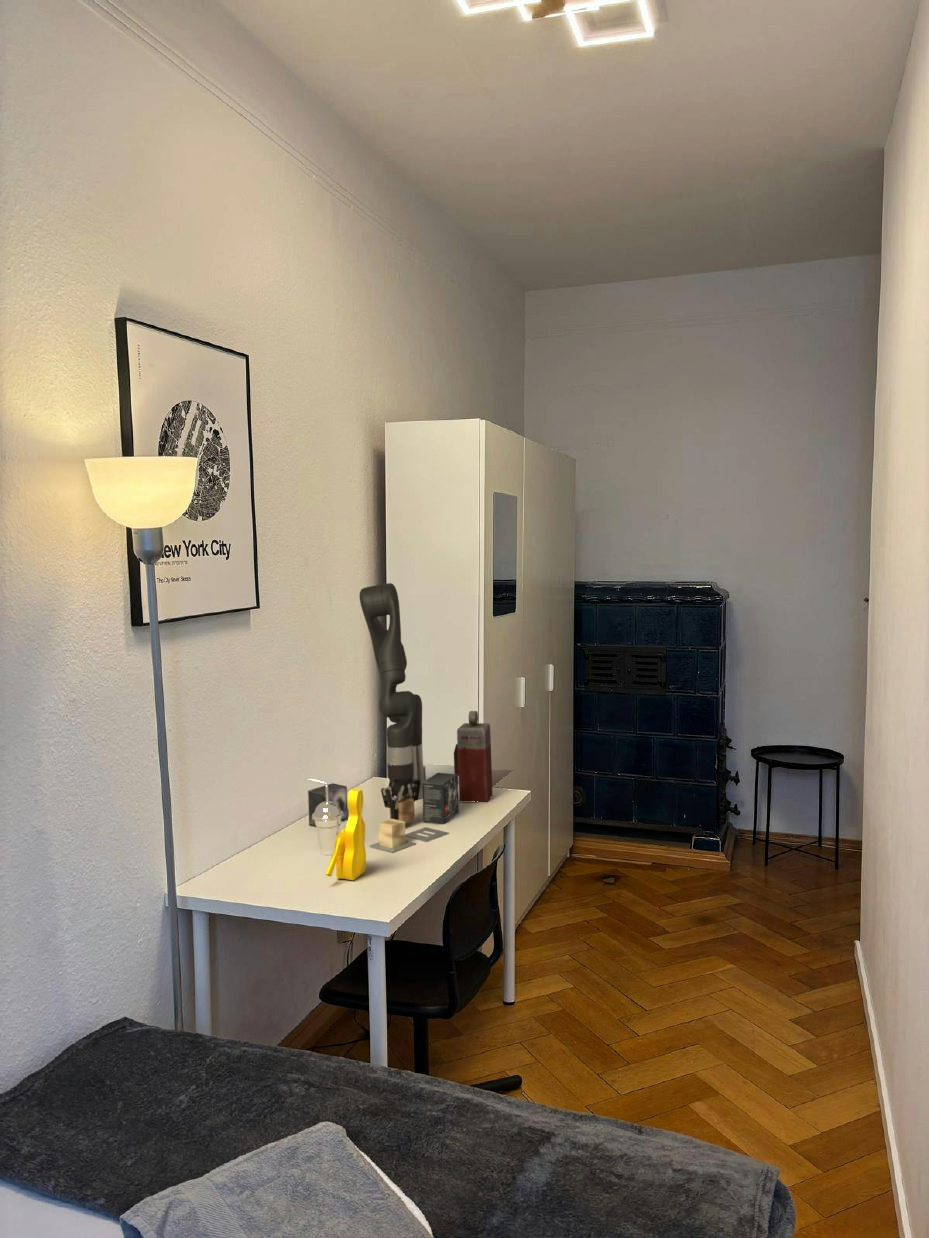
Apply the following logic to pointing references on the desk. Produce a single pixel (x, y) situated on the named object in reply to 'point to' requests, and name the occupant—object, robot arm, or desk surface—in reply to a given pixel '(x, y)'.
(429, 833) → the code tile
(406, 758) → the robot arm
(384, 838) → the maple block
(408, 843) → the code tile
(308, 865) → the desk surface
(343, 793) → the small box
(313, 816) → the cup with straw
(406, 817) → the walnut block
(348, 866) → the figure statuette
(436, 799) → the small box
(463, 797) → the red grey bottle
